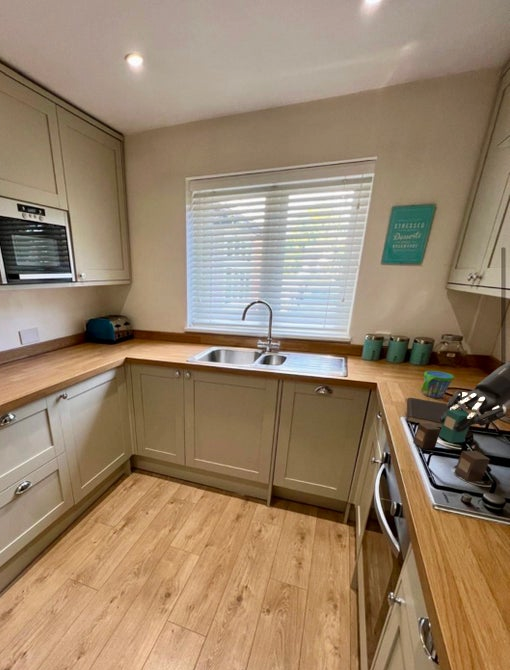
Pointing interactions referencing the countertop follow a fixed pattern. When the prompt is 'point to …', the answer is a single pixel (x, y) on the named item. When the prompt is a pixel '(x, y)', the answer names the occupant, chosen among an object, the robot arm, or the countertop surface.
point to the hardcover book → (425, 411)
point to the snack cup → (436, 383)
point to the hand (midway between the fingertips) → (448, 425)
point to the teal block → (449, 423)
